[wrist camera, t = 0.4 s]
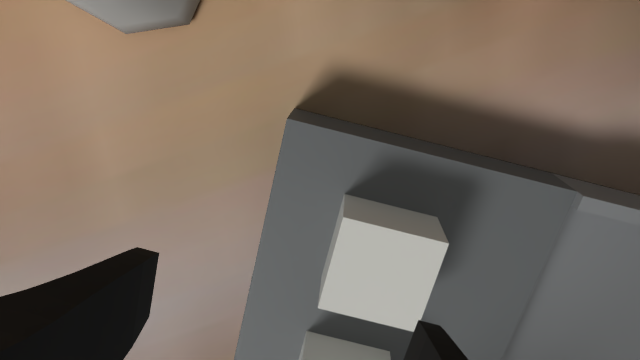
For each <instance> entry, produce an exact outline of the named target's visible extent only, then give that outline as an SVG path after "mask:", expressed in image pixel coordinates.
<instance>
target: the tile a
mask: <svg viewBox="0 0 640 360" xmlns="http://www.w3.org/2000/svg"><path fill="white" fill-rule="evenodd" d="M299 360H391V357H390V351H386V350H382V349H378V348H374V347H370V346H366V345H362V344H358V343H354V342H350V341H346V340H341V339H337V338H333V337H329V336H325V335H321V334H317V333H313V332H309V331H306V334H305V338H304V342H303V345H302V349H301V353H300V356H299Z"/></svg>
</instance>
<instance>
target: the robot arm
mask: <svg viewBox="0 0 640 360" xmlns="http://www.w3.org/2000/svg"><path fill="white" fill-rule="evenodd" d="M158 257H159V253H157V252H153V251H149V250H146V249H142V248H138V247H137V248H134V249H131V250H128V251H126V252H123V253H121V254H118V255H116V256H113V257H111V258H109V259H106V260H104V261H102V262H99V263H97V264H94V265H92V266H89V267H87V268H84V269H82V270H80V271H77V272H75V273H72V274H69V275H66V276H64V277H61V278H58V279H55V280H52V281H50V282H47V283H44V284H41V285H38V286H36V287H32V288H29V289H26V290H23V291H19V292H16V293H12V294H9V295H5V296H1V297H0V360H123V359H124V358H125V356H126V355H127V353H128V352H129V351H130V349H131V348H132V346H133V344H134V343H135V341H136V339H137V338H138V336H139V334H140V332H141V330H142V329H143V327H144V325H145V323H146V321H147V319H148V318H149V314H150V308H151V301H152V295H153V288H154V282H155V276H156V269H157V263H158ZM403 360H468V359H467V357H466V356H465V355H464V354H463V352H462V351H461V350H460V349H459V347H458V346H457V345H456V344H455V342H454V341H453V340H452V339H451V337H450V336H449V335H448V334H447V333H446V331H445V330H444V329H443V328H442V327H441V326H440V325H436V324H432V323H428V322H424V321H421V320H418V322H417V325H416V327H415V330H414V333H413V335H412V338H411V341H410V343H409V346H408V349H407V351H406V354H405V357H404V359H403Z"/></svg>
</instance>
